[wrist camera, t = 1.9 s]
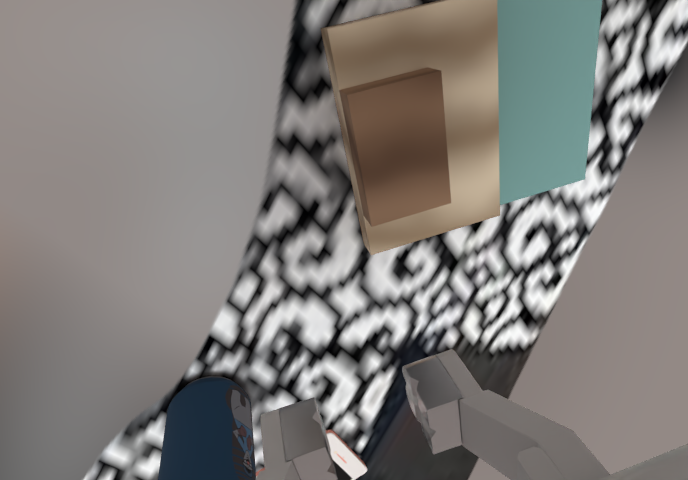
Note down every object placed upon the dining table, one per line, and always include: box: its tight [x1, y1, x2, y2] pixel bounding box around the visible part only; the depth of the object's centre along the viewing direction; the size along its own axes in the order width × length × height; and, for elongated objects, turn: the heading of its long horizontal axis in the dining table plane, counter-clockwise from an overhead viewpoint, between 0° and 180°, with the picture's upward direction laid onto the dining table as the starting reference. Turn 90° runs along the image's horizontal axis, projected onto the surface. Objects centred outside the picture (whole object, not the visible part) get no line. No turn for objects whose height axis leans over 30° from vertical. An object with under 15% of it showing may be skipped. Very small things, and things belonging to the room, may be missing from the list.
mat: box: [497, 0, 602, 205], centre depth 32 cm, size 16×9×1 cm, turn 11°
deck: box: [321, 0, 500, 255], centre depth 30 cm, size 16×11×2 cm
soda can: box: [158, 376, 256, 480], centre depth 33 cm, size 7×7×12 cm
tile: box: [339, 67, 451, 227], centre depth 28 cm, size 9×6×2 cm, turn 11°
